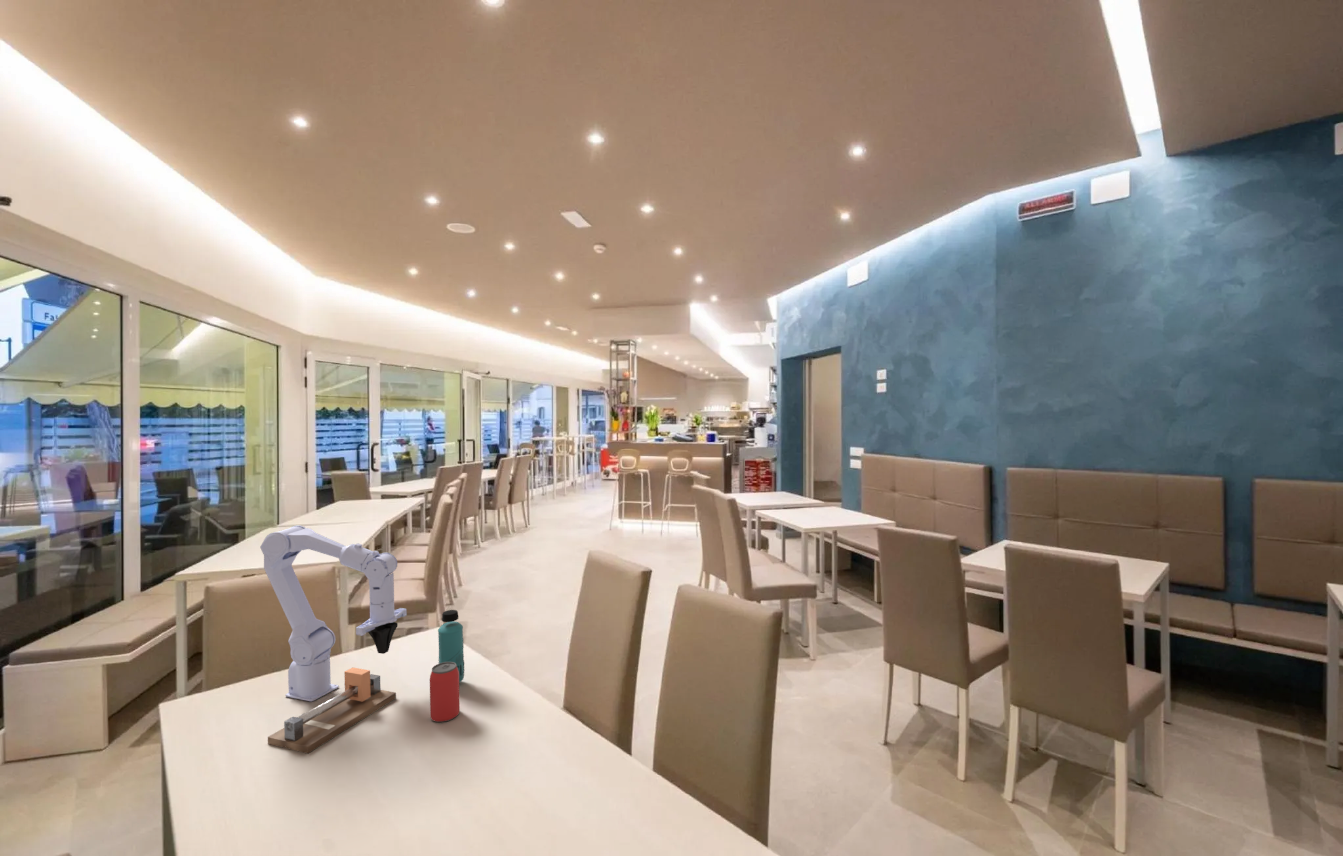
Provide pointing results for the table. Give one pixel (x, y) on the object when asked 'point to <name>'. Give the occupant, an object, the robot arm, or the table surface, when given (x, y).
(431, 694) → the beer can
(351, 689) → the pipe stand
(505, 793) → the table surface
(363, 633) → the robot arm
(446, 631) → the beverage bottle
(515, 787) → the table surface
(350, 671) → the collar
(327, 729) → the board
